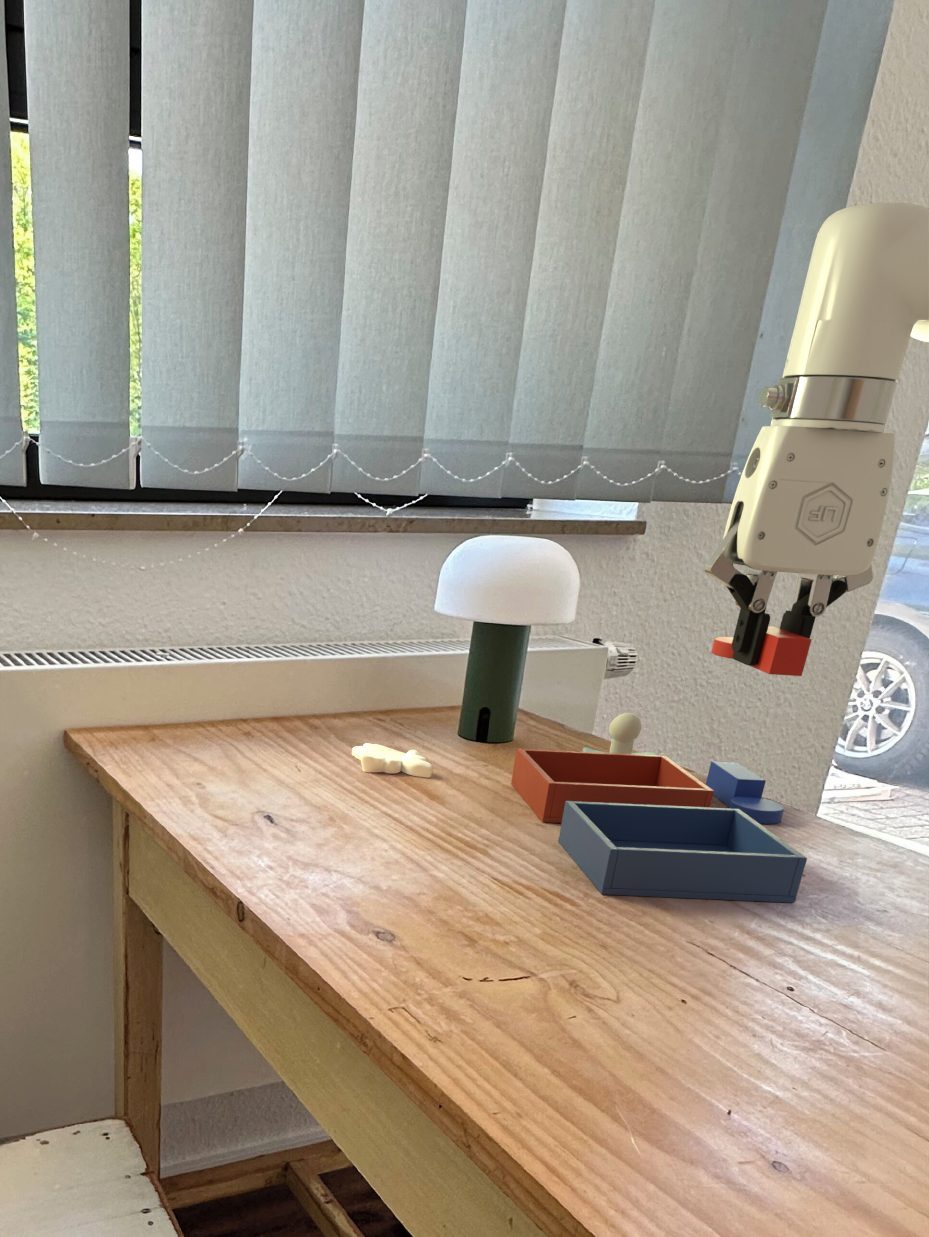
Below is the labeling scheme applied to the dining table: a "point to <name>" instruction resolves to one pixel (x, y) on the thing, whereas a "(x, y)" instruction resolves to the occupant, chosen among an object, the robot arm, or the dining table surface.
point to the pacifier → (623, 734)
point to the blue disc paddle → (743, 791)
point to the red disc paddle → (773, 652)
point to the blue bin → (679, 852)
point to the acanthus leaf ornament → (391, 760)
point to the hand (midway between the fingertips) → (765, 661)
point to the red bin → (602, 781)
